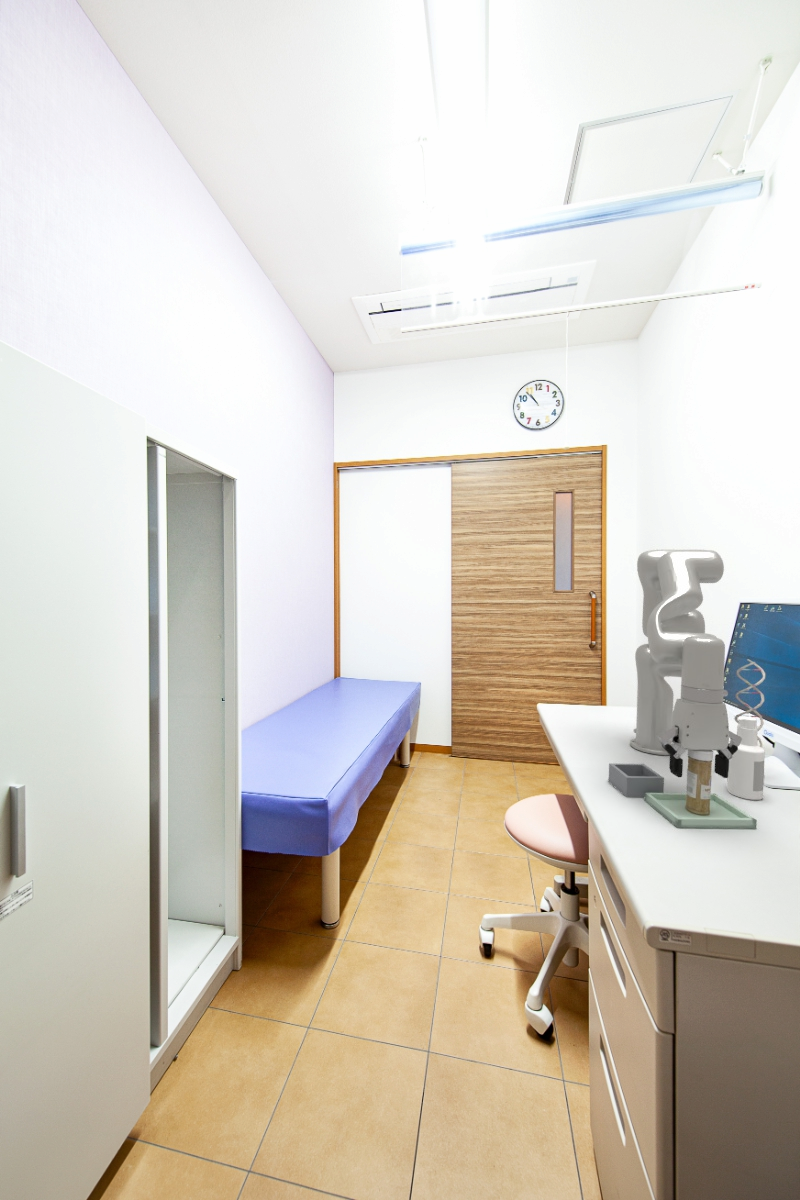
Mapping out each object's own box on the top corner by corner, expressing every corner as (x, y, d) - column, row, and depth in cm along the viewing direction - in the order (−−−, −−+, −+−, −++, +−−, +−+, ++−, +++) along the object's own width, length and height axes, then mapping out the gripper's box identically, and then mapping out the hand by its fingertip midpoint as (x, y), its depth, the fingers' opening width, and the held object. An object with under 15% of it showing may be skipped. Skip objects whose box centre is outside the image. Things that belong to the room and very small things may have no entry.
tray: (644, 800, 105) (644, 792, 105) (714, 801, 105) (714, 793, 105) (677, 828, 93) (677, 819, 93) (756, 828, 93) (756, 820, 93)
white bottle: (769, 802, 105) (772, 723, 105) (735, 798, 106) (738, 720, 106) (753, 789, 112) (756, 715, 111) (721, 786, 113) (724, 713, 113)
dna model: (766, 782, 116) (771, 663, 115) (736, 778, 118) (740, 661, 118) (756, 773, 122) (761, 659, 122) (727, 769, 125) (732, 657, 124)
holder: (608, 781, 115) (609, 763, 115) (643, 781, 115) (643, 763, 115) (626, 797, 106) (626, 777, 106) (663, 797, 106) (664, 778, 106)
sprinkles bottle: (712, 817, 96) (715, 753, 96) (687, 813, 98) (690, 749, 97) (707, 808, 100) (710, 746, 100) (682, 803, 102) (685, 743, 101)
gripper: (728, 691, 102) (726, 768, 103) (651, 690, 102) (648, 767, 102) (755, 700, 95) (752, 783, 95) (671, 698, 94) (668, 782, 95)
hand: (698, 775), depth 99 cm, fingers open, 9 cm apart
